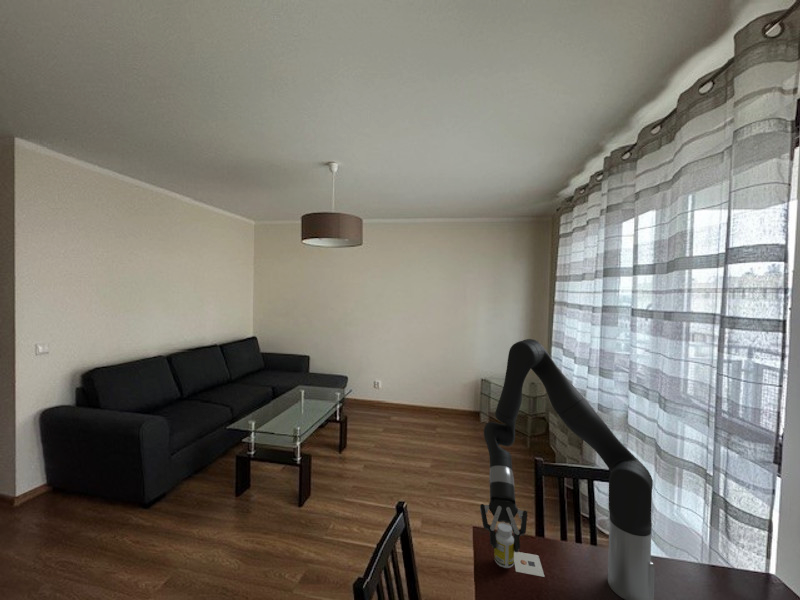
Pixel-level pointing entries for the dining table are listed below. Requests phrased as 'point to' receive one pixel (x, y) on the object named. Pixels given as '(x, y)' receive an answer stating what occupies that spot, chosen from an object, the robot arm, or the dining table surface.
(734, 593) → the dining table surface
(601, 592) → the dining table surface
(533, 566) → the tile
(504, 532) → the supplement bottle
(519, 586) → the dining table surface
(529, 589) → the dining table surface
